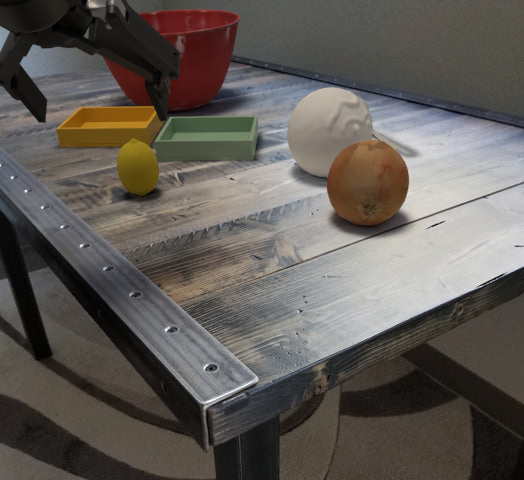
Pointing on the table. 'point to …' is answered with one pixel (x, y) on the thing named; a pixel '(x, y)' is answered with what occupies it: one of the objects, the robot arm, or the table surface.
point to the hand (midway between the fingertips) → (103, 110)
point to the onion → (368, 182)
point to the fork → (385, 140)
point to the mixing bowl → (187, 56)
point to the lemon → (137, 167)
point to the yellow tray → (109, 126)
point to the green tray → (208, 138)
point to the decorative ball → (327, 128)
